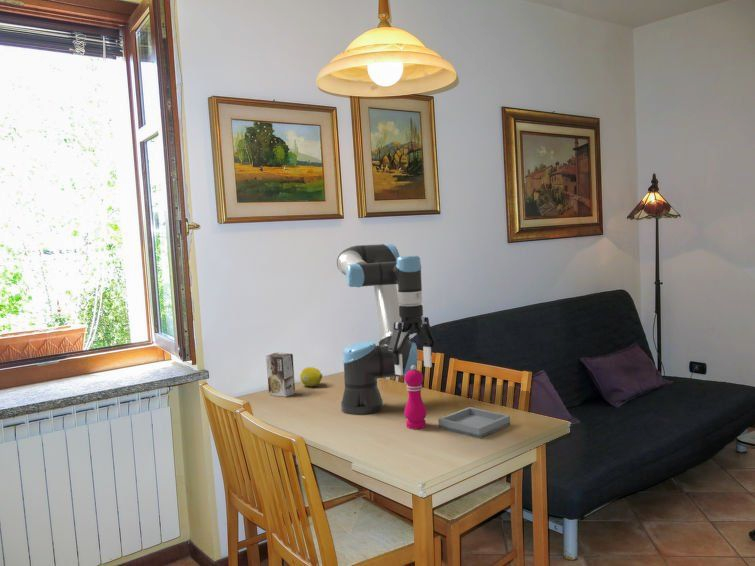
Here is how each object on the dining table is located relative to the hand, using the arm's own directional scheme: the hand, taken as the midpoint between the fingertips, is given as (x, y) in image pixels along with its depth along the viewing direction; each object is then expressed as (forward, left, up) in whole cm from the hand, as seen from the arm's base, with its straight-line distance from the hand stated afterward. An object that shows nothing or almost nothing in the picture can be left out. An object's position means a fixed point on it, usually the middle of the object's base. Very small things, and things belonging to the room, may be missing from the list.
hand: (413, 370), depth 199 cm
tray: (+15, +11, -18) cm, 26 cm away
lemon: (-70, +12, -19) cm, 74 cm away
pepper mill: (0, 0, -19) cm, 19 cm away
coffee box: (-70, -3, -19) cm, 73 cm away
